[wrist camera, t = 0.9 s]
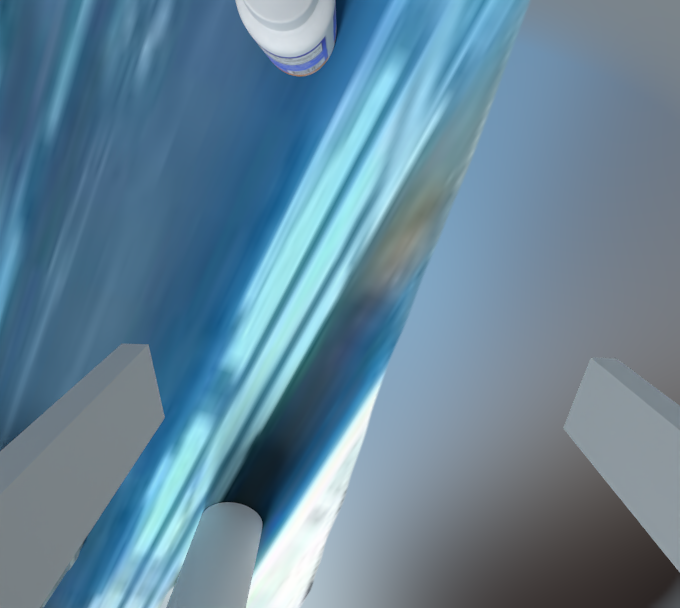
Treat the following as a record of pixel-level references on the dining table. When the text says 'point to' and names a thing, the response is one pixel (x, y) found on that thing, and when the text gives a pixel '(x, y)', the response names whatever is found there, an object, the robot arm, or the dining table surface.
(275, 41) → the pill bottle
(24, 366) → the dining table surface
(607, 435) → the robot arm
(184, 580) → the cup
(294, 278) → the dining table surface
